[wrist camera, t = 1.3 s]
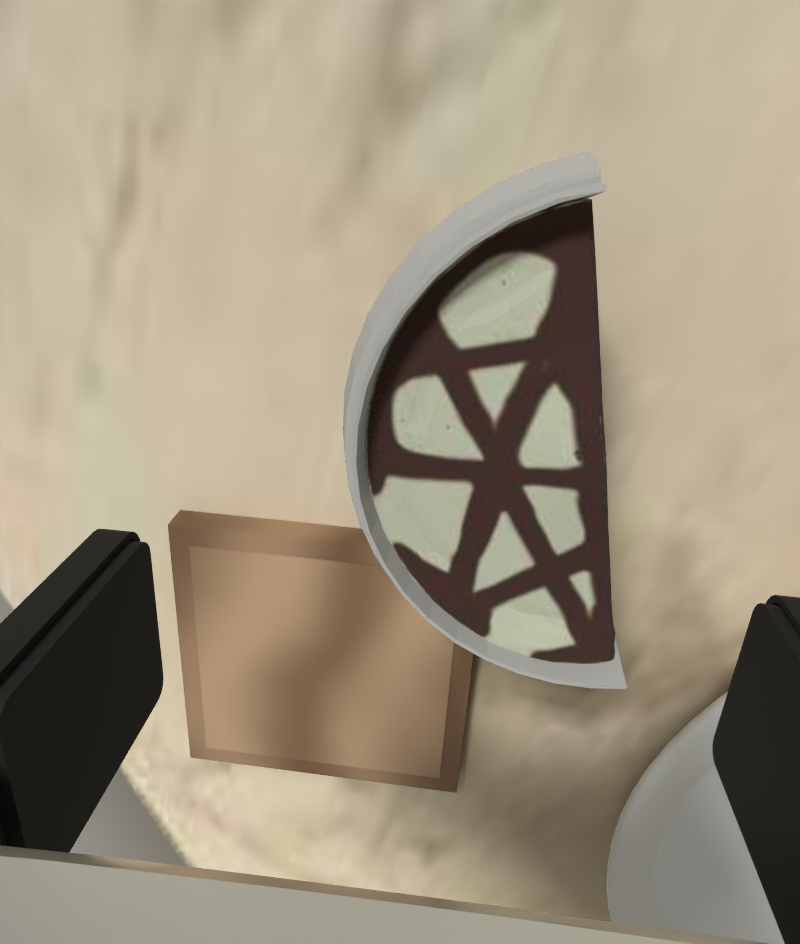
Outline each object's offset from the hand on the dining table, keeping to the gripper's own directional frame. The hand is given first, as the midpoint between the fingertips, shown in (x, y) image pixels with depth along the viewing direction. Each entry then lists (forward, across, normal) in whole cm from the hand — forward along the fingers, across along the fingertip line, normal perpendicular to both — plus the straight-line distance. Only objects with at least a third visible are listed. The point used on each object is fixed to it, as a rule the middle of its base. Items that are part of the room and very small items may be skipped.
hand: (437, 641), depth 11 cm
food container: (+15, -1, -1) cm, 15 cm away
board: (+15, +4, +12) cm, 20 cm away
